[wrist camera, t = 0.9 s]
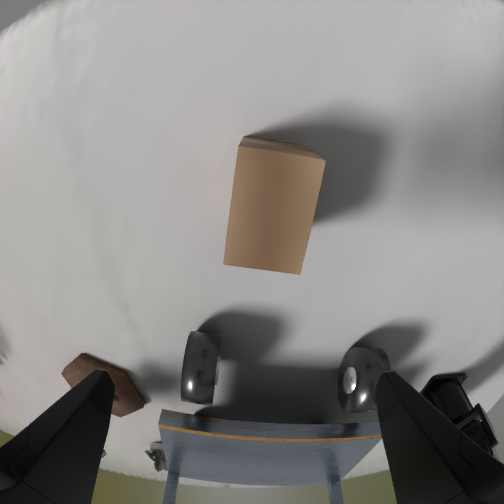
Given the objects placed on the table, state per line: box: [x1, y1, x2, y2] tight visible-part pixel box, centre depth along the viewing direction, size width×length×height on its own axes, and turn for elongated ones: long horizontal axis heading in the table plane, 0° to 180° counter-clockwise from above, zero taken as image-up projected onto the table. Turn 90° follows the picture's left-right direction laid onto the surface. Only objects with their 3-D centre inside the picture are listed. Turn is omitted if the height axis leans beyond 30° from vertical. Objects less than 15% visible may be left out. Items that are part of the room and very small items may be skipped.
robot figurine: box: [61, 353, 145, 458], centre depth 24 cm, size 11×9×12 cm
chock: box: [223, 137, 326, 275], centre depth 17 cm, size 4×6×6 cm, turn 172°
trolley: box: [158, 331, 391, 504], centre depth 24 cm, size 20×20×12 cm
